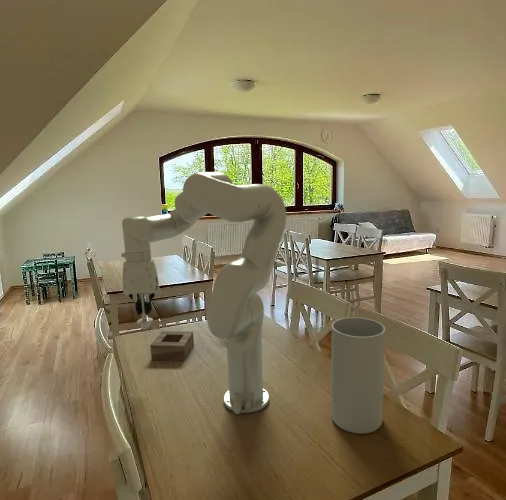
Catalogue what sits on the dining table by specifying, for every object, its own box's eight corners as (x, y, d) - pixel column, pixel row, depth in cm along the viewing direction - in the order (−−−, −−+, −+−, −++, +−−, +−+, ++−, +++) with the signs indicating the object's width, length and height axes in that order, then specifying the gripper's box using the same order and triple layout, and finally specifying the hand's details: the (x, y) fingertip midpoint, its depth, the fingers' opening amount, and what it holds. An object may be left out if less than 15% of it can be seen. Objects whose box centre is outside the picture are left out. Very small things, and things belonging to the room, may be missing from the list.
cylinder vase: (344, 399, 107) (345, 314, 102) (389, 416, 99) (393, 324, 94) (322, 422, 97) (322, 329, 93) (370, 442, 89) (372, 341, 85)
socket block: (185, 360, 133) (184, 345, 132) (151, 359, 134) (150, 345, 133) (193, 345, 145) (193, 331, 144) (162, 345, 146) (161, 331, 145)
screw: (141, 331, 120) (135, 326, 123) (156, 326, 123) (149, 322, 126) (137, 290, 117) (131, 287, 121) (152, 287, 120) (145, 284, 124)
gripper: (108, 259, 116) (115, 317, 119) (159, 258, 114) (164, 317, 118) (119, 254, 123) (125, 309, 127) (167, 253, 122) (172, 309, 125)
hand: (144, 312), depth 122 cm, fingers closed on screw, 2 cm apart
